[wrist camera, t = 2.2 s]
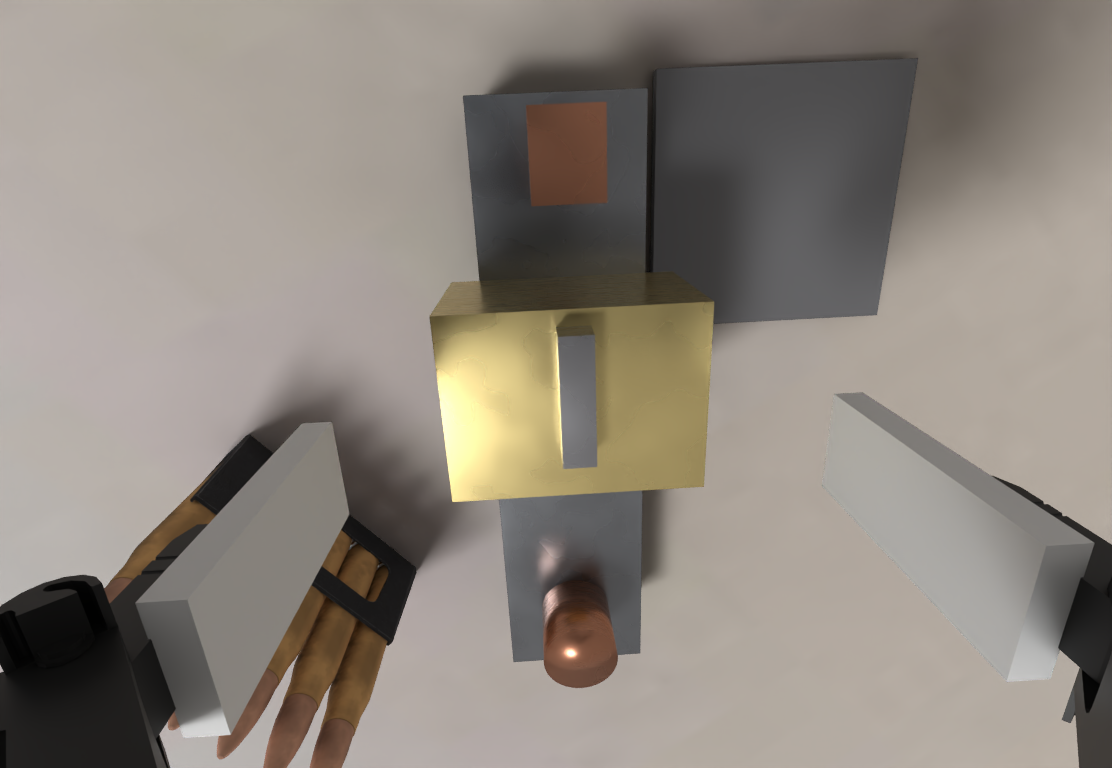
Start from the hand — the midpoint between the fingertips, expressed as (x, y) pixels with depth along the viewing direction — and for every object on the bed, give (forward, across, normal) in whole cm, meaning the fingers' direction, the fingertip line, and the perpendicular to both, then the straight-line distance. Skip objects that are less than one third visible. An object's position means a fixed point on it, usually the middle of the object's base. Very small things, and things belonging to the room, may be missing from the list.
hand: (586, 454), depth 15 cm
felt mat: (+11, +9, +6) cm, 15 cm away
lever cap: (+7, 0, 0) cm, 7 cm away
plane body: (+11, 0, -2) cm, 12 cm away
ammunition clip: (+12, -12, -8) cm, 19 cm away
